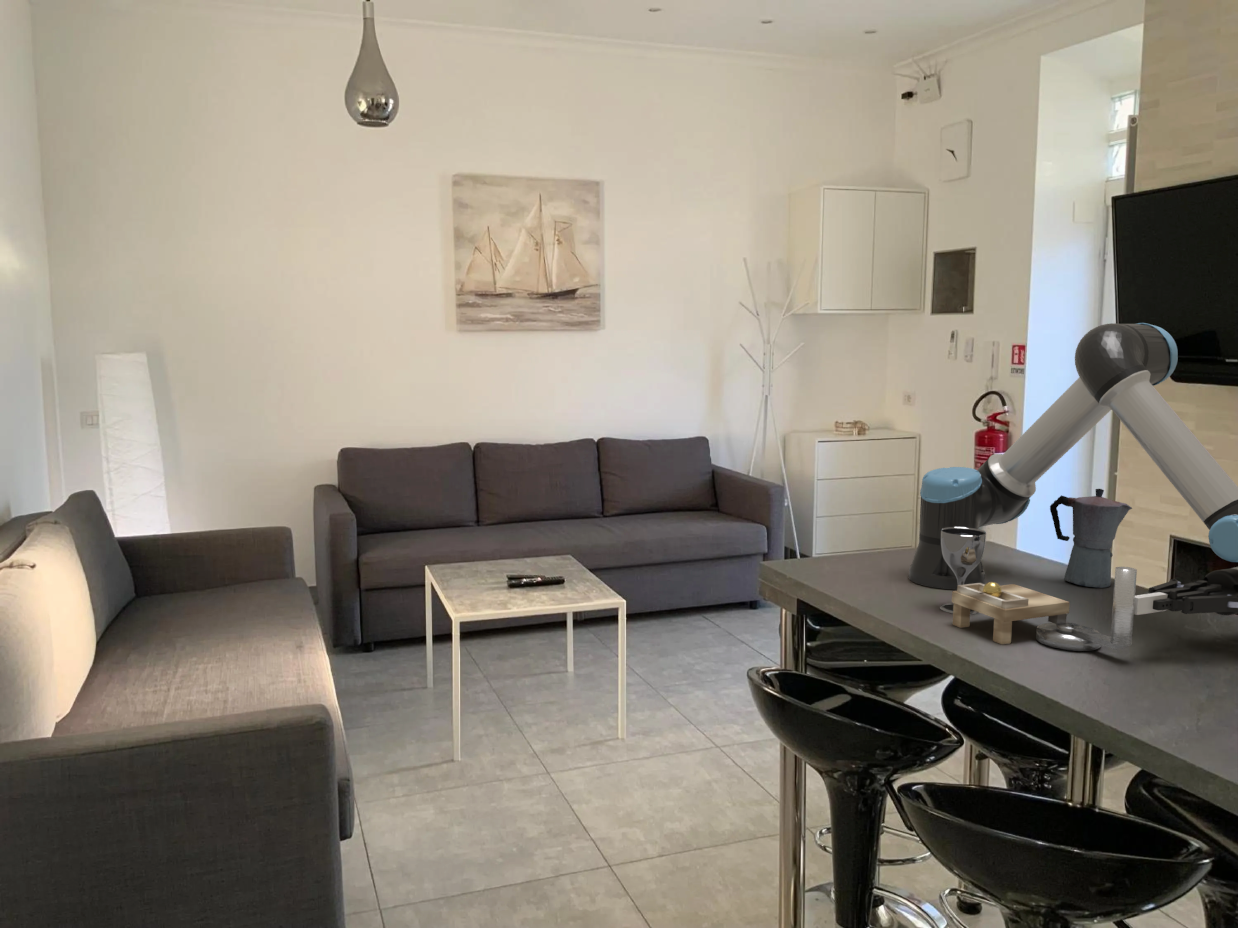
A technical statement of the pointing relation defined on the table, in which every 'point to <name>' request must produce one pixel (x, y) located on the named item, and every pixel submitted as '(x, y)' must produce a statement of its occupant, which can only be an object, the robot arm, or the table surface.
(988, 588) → the ball
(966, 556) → the wine glass
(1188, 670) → the table surface
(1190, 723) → the table surface
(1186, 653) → the table surface
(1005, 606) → the stand
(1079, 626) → the silver l-shaped piece
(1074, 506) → the moka pot
